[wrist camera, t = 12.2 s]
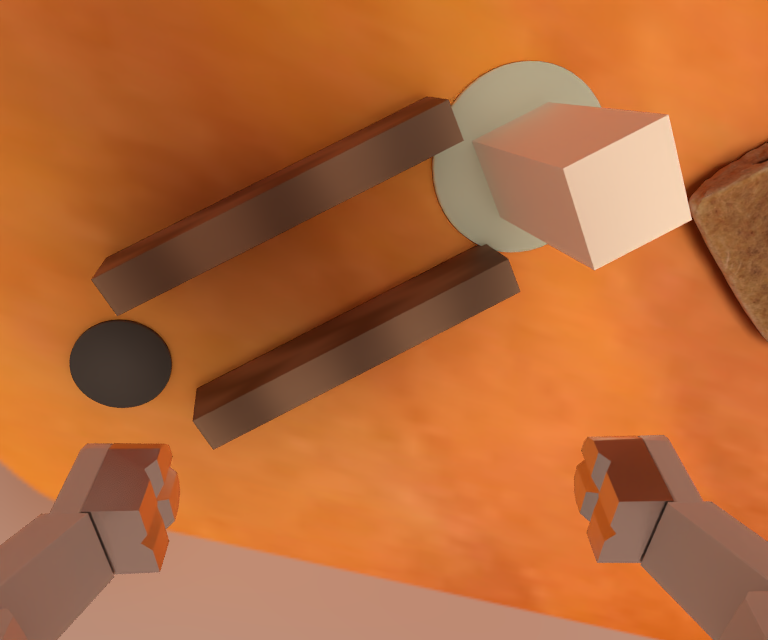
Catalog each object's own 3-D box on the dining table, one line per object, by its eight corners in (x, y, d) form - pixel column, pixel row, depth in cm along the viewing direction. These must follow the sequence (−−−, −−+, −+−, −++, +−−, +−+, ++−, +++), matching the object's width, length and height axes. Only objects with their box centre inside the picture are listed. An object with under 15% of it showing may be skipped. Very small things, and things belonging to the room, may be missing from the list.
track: (215, 415, 35) (213, 449, 32) (106, 258, 31) (91, 279, 28) (495, 271, 36) (520, 291, 33) (427, 96, 31) (448, 99, 28)
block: (500, 217, 34) (594, 270, 25) (471, 140, 32) (562, 168, 23) (572, 180, 34) (691, 219, 25) (548, 102, 32) (668, 114, 23)
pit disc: (53, 379, 33) (51, 382, 32) (99, 302, 32) (98, 304, 31) (143, 419, 34) (142, 422, 34) (188, 347, 34) (188, 350, 33)
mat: (395, 187, 33) (397, 188, 32) (510, 18, 31) (513, 17, 31) (529, 281, 37) (532, 283, 36) (639, 136, 35) (643, 136, 34)
